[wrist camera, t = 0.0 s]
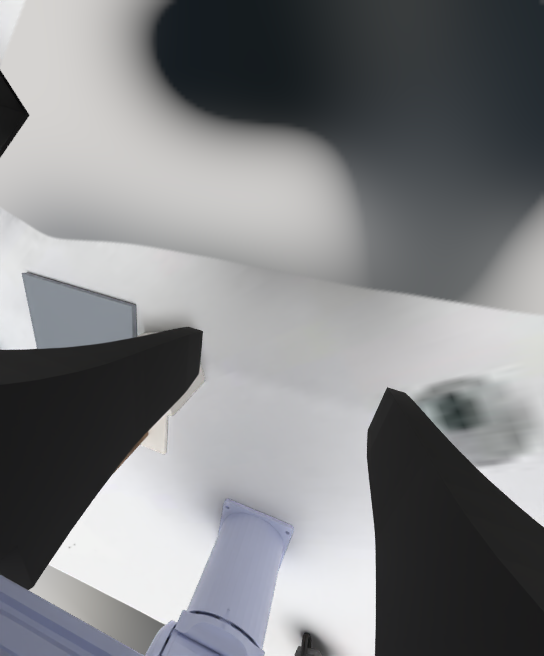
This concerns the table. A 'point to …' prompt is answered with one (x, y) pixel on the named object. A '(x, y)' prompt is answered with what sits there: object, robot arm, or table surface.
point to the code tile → (157, 436)
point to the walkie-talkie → (306, 648)
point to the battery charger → (9, 114)
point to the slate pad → (75, 314)
